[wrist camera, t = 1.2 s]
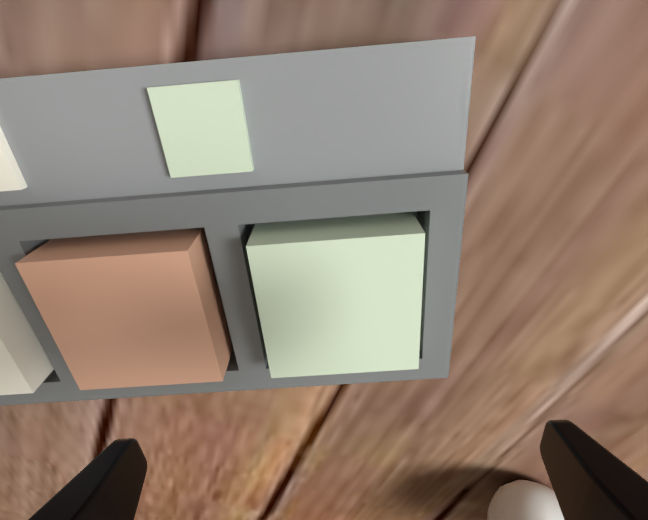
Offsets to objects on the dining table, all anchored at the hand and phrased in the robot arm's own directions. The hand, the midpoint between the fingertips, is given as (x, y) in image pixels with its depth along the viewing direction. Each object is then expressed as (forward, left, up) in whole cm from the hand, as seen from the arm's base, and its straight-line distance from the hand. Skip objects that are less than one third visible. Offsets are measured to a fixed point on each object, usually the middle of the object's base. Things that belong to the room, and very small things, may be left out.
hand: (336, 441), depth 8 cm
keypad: (+1, +8, -10) cm, 13 cm away
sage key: (-1, 0, -8) cm, 8 cm away
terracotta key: (-1, +8, -8) cm, 11 cm away
